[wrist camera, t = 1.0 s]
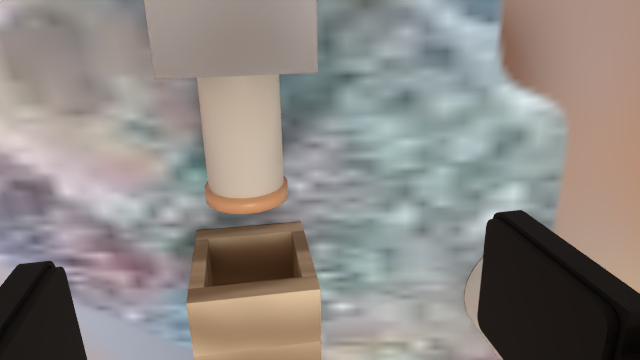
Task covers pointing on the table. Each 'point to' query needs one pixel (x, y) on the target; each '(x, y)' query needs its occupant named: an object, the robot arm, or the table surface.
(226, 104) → the tube
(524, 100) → the table surface
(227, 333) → the socket
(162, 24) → the grey block
